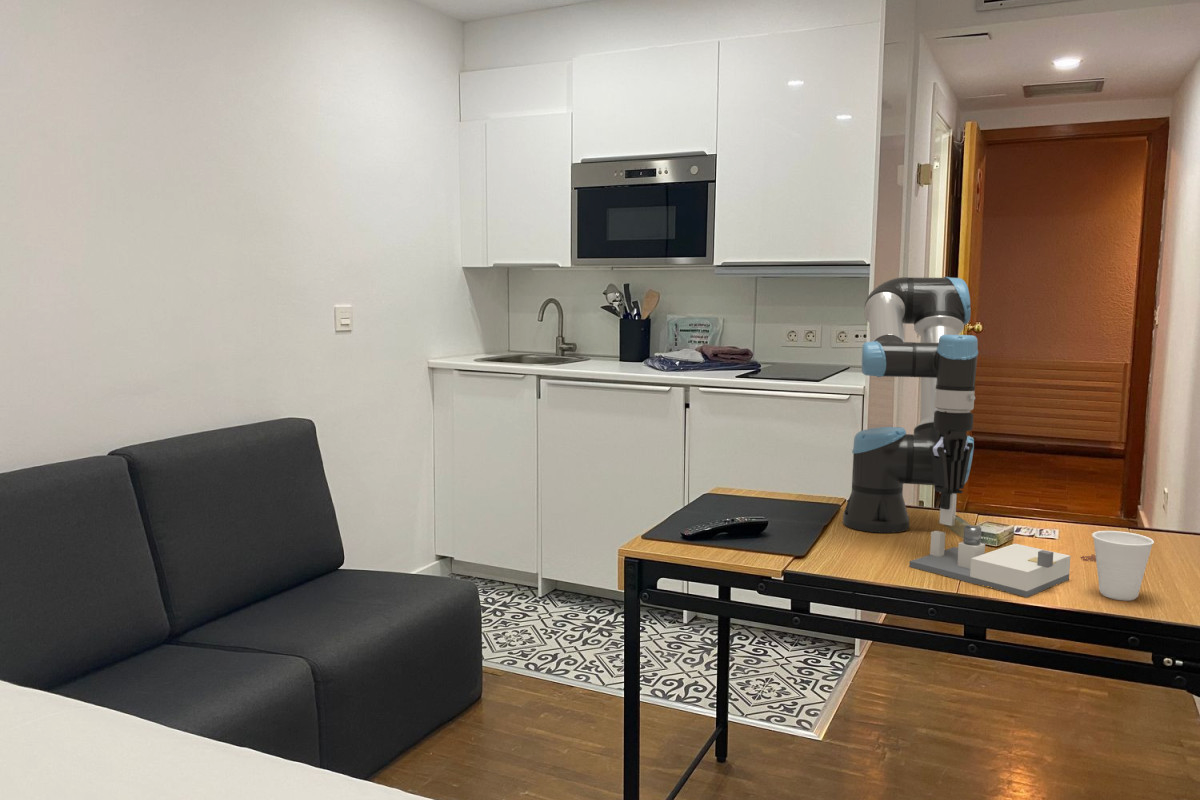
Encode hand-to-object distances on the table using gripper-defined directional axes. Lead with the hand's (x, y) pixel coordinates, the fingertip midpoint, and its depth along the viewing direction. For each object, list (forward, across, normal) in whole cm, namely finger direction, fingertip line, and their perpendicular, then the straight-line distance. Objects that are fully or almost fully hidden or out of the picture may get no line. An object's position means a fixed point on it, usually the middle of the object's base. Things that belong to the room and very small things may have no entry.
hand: (947, 524), depth 190 cm
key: (+8, +22, -22) cm, 32 cm away
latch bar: (+2, 0, -3) cm, 3 cm away
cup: (+8, +5, -32) cm, 33 cm away
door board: (+8, -1, -10) cm, 13 cm away
